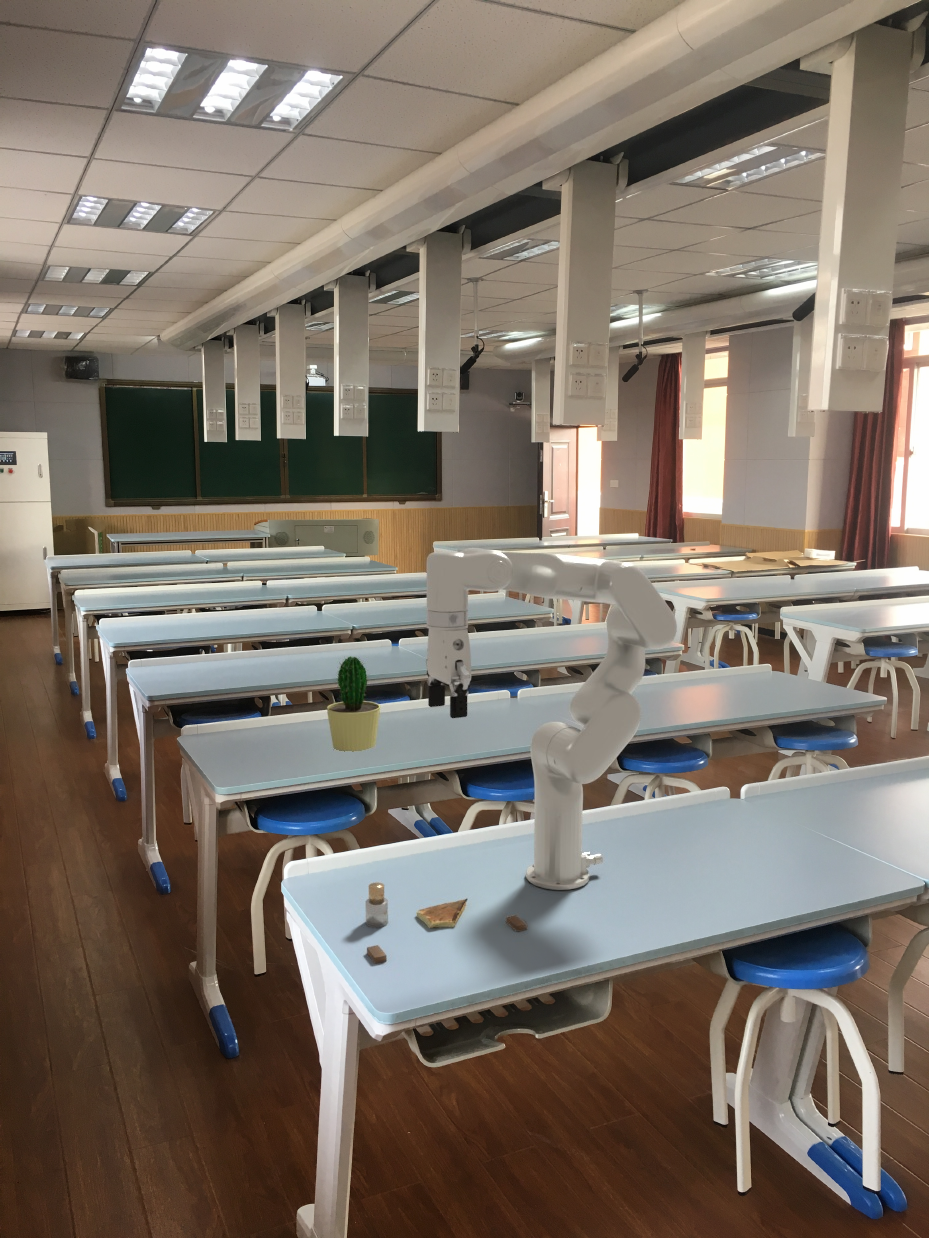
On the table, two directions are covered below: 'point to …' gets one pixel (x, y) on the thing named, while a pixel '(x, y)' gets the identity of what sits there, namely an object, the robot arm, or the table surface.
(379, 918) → the gold capped bottle
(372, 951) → the small brown blocks
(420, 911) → the shard
